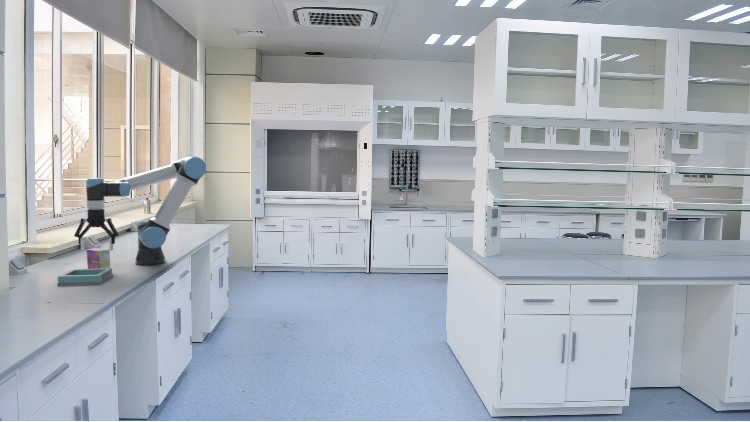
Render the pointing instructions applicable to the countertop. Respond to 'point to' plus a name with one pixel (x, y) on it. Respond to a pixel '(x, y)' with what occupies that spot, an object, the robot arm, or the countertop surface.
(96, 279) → the teal square tray
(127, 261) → the countertop surface
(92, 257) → the box
